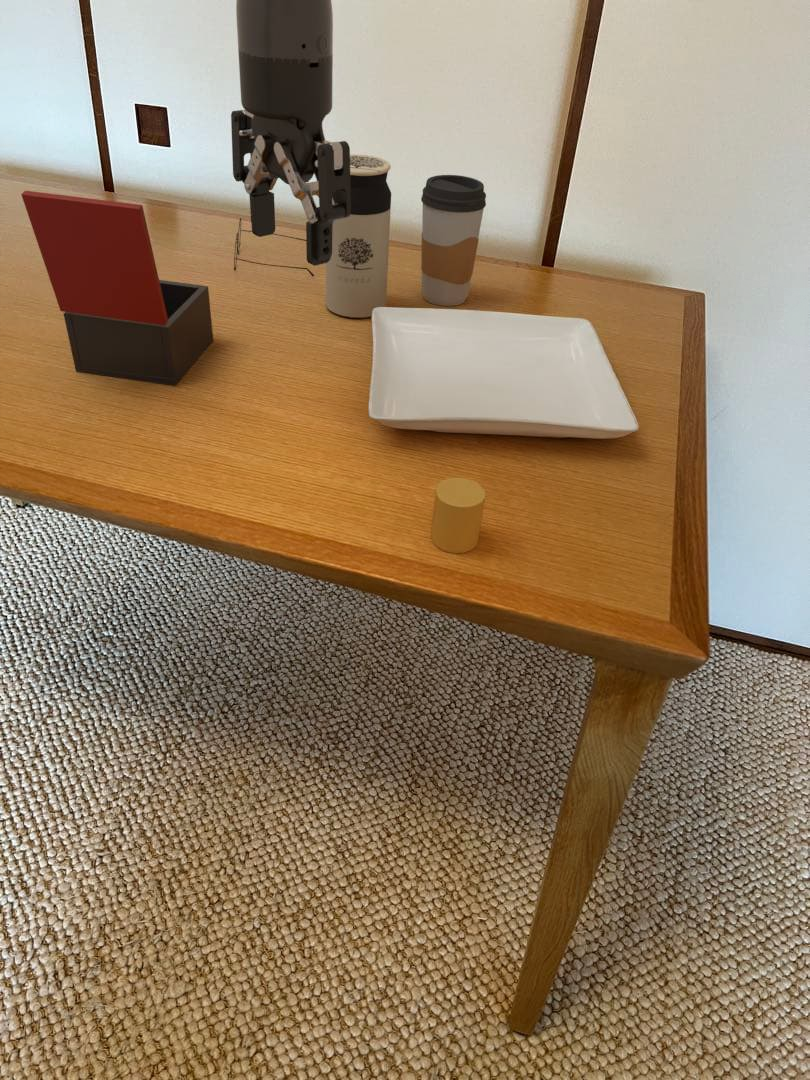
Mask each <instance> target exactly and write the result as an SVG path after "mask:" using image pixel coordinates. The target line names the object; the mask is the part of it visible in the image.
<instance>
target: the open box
mask: <svg viewBox="0 0 810 1080" xmlns="http://www.w3.org/2000/svg"><path fill="white" fill-rule="evenodd" d="M159 282H160V286H161V291H162V295H163V300H164V304H165V309H166V313H167V318H168V323H167V324H166V326H164V325H157V324H150V323H142V322H135V321H128V320H121V319H114V318H106V317H99V316H92V315H85V314H78V313H70V312H63V318H64V319H63V320H64V323H65V328H66V332H67V338H68V341H69V346H70V350H71V356H72V360H73V364H74V369H75V372H78V373H84V374H91V375H97V376H98V375H99V376H106V377H113V378H118V379H119V378H121V379H125V380H134V381H141V382H146V383H154V384H159V385H166V386H167V385H168V386H174V387H176V386H177V384H178V383H180V381H181V380H182V379H183V377H184V376H185V375H186V374H187V373H188V372H189V370H191V368H192V367H193V366H194V365H195V363H196V362H197V361H198V360H199V358H200V357H201V356H202V354H204V353H205V351H206V350H207V349H208V347H210V345H212V343H213V342H214V333H213V323H212V313H211V304H210V303H211V301H210V291H209V286H208V285H201V284H195V283H188V282H187V283H186V282H178V281H172V280H171V281H170V280H164V279H163V280H162V279H159Z"/></svg>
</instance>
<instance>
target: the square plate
mask: <svg viewBox="0 0 810 1080" xmlns="http://www.w3.org/2000/svg"><path fill="white" fill-rule="evenodd" d="M371 328H372V331H371V332H372V359H371V361H372V362H371V371H370V372H371V373H370V383H369V396H368V405H367V406H368V409H367V410H368V416H369V417H370V418H371V419H373V420H375V421H377V422H378V423H379V424H381V425H383V426H385V427H388V428H392V429H399V430H412V431H413V430H414V431H415V430H416V431H430V432H437V433H448V434H449V433H451V434H452V433H453V434H454V433H455V434H477V435H498V436H500V435H502V436H522V437H540V438H542V437H543V438H563V439H564V438H578V439H602V440H603V439H618V438H623V437H625V436H628V435H630V434H632V433H634V432H637V431H638V430H639V428H640V426H639V423H638V420H637V418H636V416H635V413H634V411H633V409H632V407H631V405H630V403H629V401H628V399H627V397H626V394H625V392H624V390H623V388H622V386H621V384H620V382H619V380H618V377H617V376H616V373H615V371H614V369H613V366H612V364H611V362H610V360H609V358H608V356H607V354H606V351H605V348H604V347H603V344H602V342H601V340H600V338H599V335H598V333H597V331H596V329H595V328H594V326H593V323H592V322H591V321H590V320H588V319H586V318H579V317H566V316H565V317H564V316H563V317H562V316H553V315H552V316H551V315H542V314H541V315H540V314H530V313H529V314H528V313H516V312H504V311H490V310H476V309H475V310H474V309H457V308H456V309H455V308H426V307H425V308H423V307H394V306H393V307H390V306H386V307H377V308H374V309H373V311H372V316H371Z"/></svg>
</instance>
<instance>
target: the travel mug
mask: <svg viewBox="0 0 810 1080" xmlns="http://www.w3.org/2000/svg"><path fill="white" fill-rule="evenodd" d="M390 170H391V164H390V162H389V161H388V160H386V159H384V158H381V157H378V156H373V155H368V154H367V155H366V154H350V191H351V214H350V216H349V217H347V218H342V219H337V220H334V222H333V226H332V256H331V259H330V261H329V262H327V263H325V306H326V308H327V309H328V310H329V311H330V312H332V313H334V314H336V315H338V316H342V317H345V318H351V319H352V318H353V319H367V318H370V317H371V318H372V311H373V309H374V308H377V307H387V290H388V270H389V250H390V233H391V231H390V229H391V209H392V192H391V189H390V186H389V184H388V182H387V180H388V179H387V178H388V173H389V172H390ZM332 198H333V200H334V203H335V204H338V198H337V190H336V191H334V192H333V193H332Z"/></svg>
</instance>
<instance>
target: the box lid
mask: <svg viewBox="0 0 810 1080" xmlns="http://www.w3.org/2000/svg"><path fill="white" fill-rule="evenodd" d="M20 195H21V198H22V201H23V204H24V207H25V210H26V213H27V216H28V219H29V222H30V225H31V227H32V232H33V233H34V237H35V239H36V242H37V245H38V248H39V252H40V255H41V257H42V260H43V264H44V266H45V270H46V272H47V276H48V278H49V282H50V284H51V287H52V290H53V293H54V296H55V300H56V301H57V305H58V308H59V310H60V312H63V313H65V312H70V313H78V314H85V315H92V316H99V317H106V318H114V319H121V320H128V321H135V322H142V323H150V324H157V325H164V326H166V324H167V323H168V318H167V313H166V309H165V304H164V300H163V295H162V291H161V286H160V282H159V280H160V278H159V272H158V268H157V264H156V259H155V256H154V251H153V245H152V242H151V239H150V233H149V230H148V224H147V220H146V215H145V211H144V205H143V204H138V203H130V202H123V201H121V202H120V201H113V200H105V199H99V198H98V199H97V198H91V197H90V198H89V197H83V196H82V197H81V196H74V195H64V194H57V193H49V192H40V191H34V190H24V191H23V192H22V193H21V194H20Z"/></svg>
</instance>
